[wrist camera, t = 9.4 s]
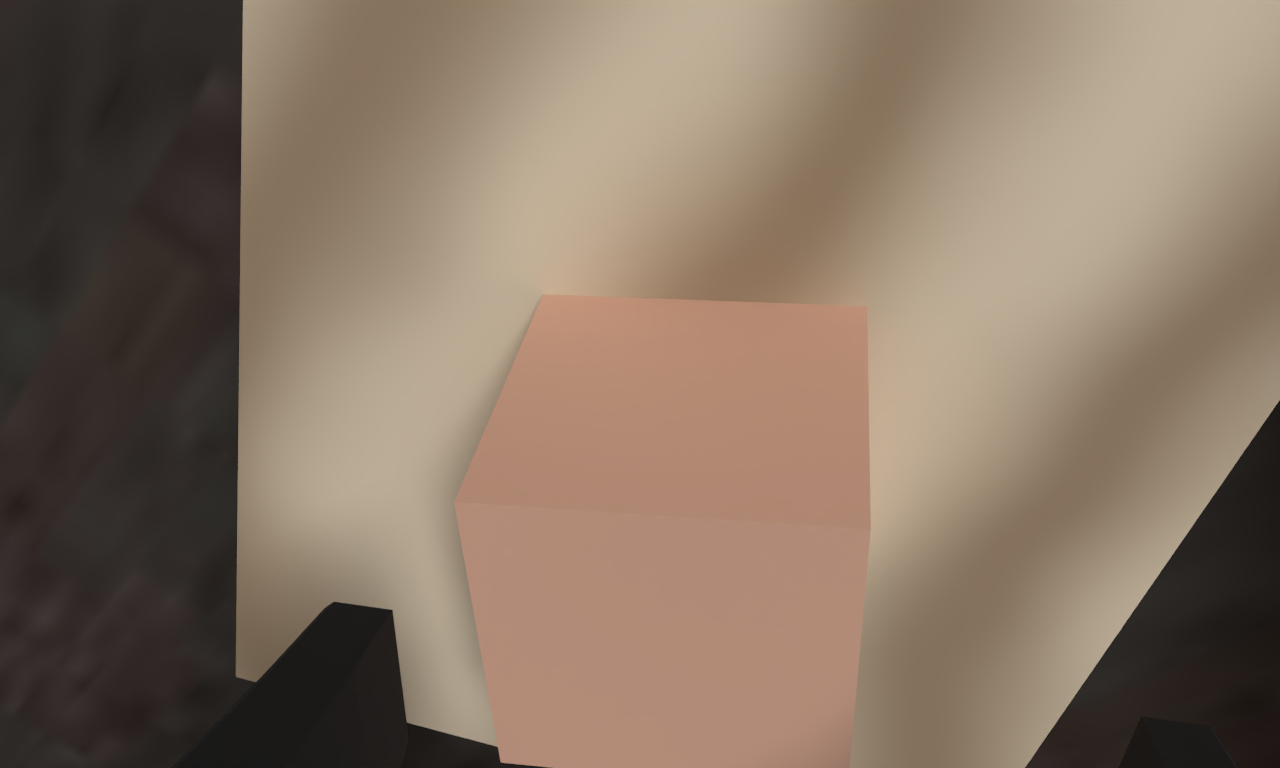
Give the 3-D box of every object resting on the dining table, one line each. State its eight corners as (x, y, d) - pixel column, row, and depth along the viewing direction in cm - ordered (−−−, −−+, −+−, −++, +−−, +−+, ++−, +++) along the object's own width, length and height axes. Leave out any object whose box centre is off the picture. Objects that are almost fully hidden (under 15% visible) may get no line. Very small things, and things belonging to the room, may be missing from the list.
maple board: (1489, -22, 15) (1546, 15, 14) (950, 808, 26) (955, 868, 25) (295, -345, 15) (246, -337, 14) (264, 625, 26) (235, 676, 25)
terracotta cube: (867, 306, 18) (870, 529, 13) (848, 552, 20) (847, 796, 16) (543, 294, 18) (453, 502, 14) (568, 533, 21) (500, 762, 17)
